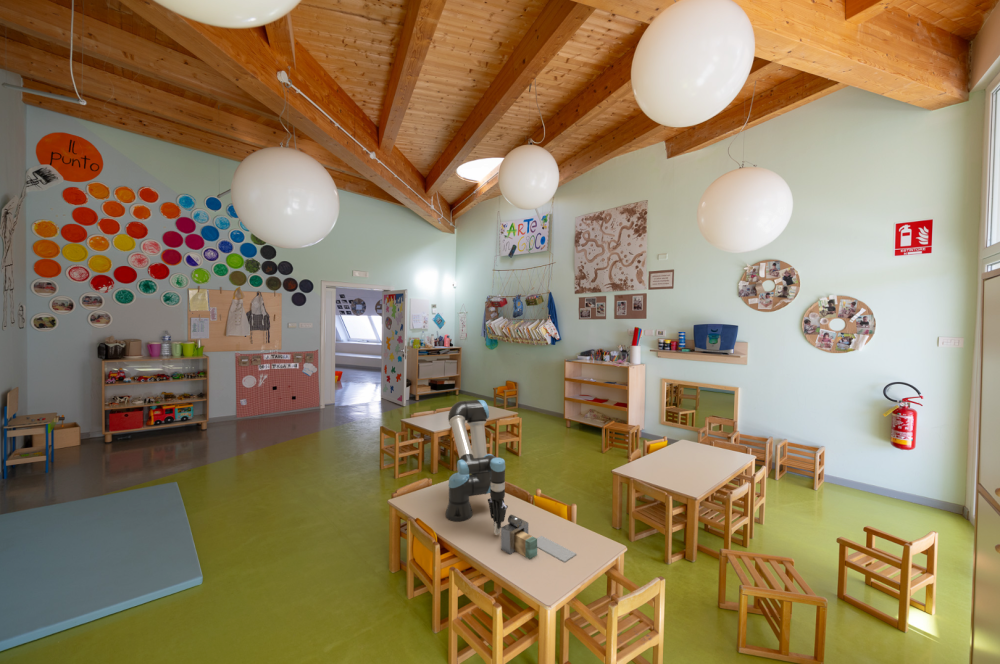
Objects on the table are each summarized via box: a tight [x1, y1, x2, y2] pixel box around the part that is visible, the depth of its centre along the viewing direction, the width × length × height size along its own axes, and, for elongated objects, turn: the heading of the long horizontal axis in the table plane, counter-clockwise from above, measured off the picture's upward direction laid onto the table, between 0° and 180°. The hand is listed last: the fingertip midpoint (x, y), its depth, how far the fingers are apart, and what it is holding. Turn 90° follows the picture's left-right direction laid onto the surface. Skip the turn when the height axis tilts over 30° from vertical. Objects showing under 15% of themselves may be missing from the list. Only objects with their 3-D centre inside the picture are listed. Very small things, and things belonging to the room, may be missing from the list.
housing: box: [500, 514, 529, 555], centre depth 204 cm, size 6×13×15 cm, turn 133°
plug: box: [514, 530, 538, 560], centre depth 202 cm, size 18×5×8 cm, turn 44°
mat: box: [536, 535, 578, 563], centre depth 202 cm, size 22×9×1 cm, turn 43°
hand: (497, 533), depth 214 cm, fingers closed
